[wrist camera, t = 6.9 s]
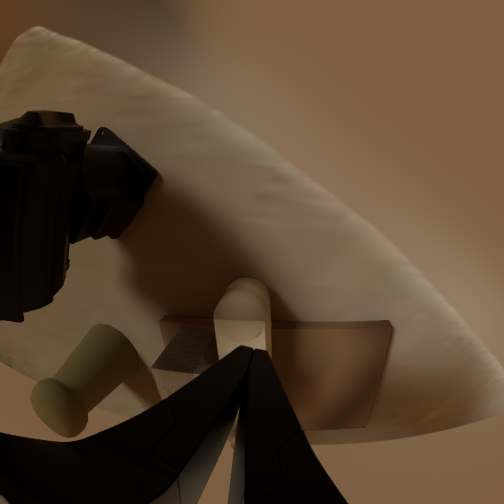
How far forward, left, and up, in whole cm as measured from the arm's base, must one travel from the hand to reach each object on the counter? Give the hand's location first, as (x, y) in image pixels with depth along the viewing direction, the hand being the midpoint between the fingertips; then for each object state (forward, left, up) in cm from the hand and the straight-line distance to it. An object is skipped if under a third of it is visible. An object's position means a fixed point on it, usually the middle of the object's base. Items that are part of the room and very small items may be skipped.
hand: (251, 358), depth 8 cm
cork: (-5, -19, -12) cm, 23 cm away
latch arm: (+4, -8, -10) cm, 14 cm away
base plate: (+7, -9, -12) cm, 16 cm away
